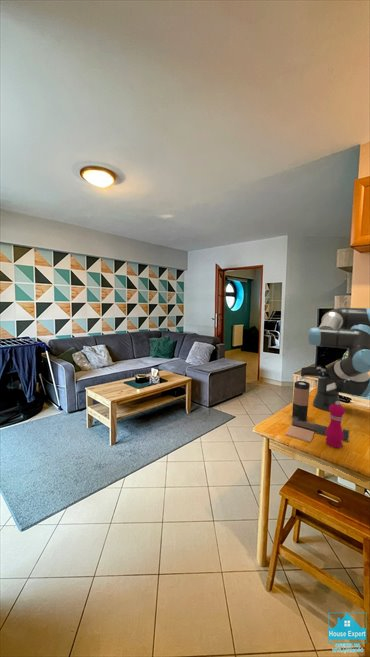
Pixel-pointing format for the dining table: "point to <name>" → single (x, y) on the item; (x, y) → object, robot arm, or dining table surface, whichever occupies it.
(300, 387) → the travel mug
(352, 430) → the dining table surface
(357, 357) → the robot arm
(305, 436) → the end tile
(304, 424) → the handrail
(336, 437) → the pepper mill
